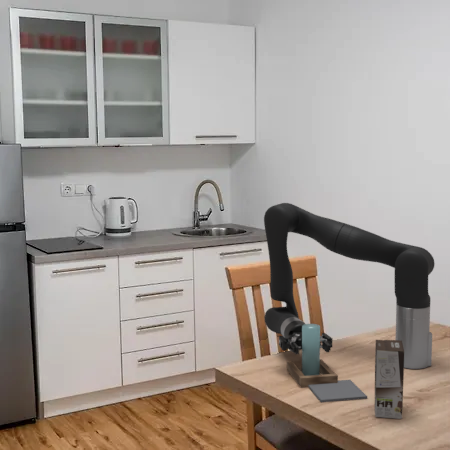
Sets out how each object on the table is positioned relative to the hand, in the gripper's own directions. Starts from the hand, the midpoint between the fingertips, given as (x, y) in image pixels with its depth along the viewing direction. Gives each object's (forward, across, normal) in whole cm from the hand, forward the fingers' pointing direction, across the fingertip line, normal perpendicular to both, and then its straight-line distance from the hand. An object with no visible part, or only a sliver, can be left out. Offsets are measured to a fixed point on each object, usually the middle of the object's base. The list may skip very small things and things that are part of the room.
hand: (313, 349), depth 183 cm
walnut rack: (-2, 0, +8) cm, 8 cm away
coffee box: (+24, +11, +8) cm, 28 cm away
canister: (-2, 0, +8) cm, 8 cm away
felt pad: (+10, +3, +8) cm, 13 cm away
